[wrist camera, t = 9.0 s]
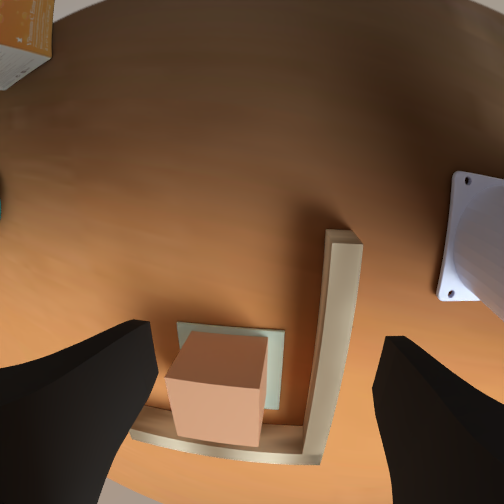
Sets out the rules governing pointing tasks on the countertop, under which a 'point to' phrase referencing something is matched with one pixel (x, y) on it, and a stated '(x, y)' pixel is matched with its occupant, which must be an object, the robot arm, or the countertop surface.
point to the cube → (219, 388)
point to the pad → (273, 335)
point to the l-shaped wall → (321, 382)
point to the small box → (24, 38)
